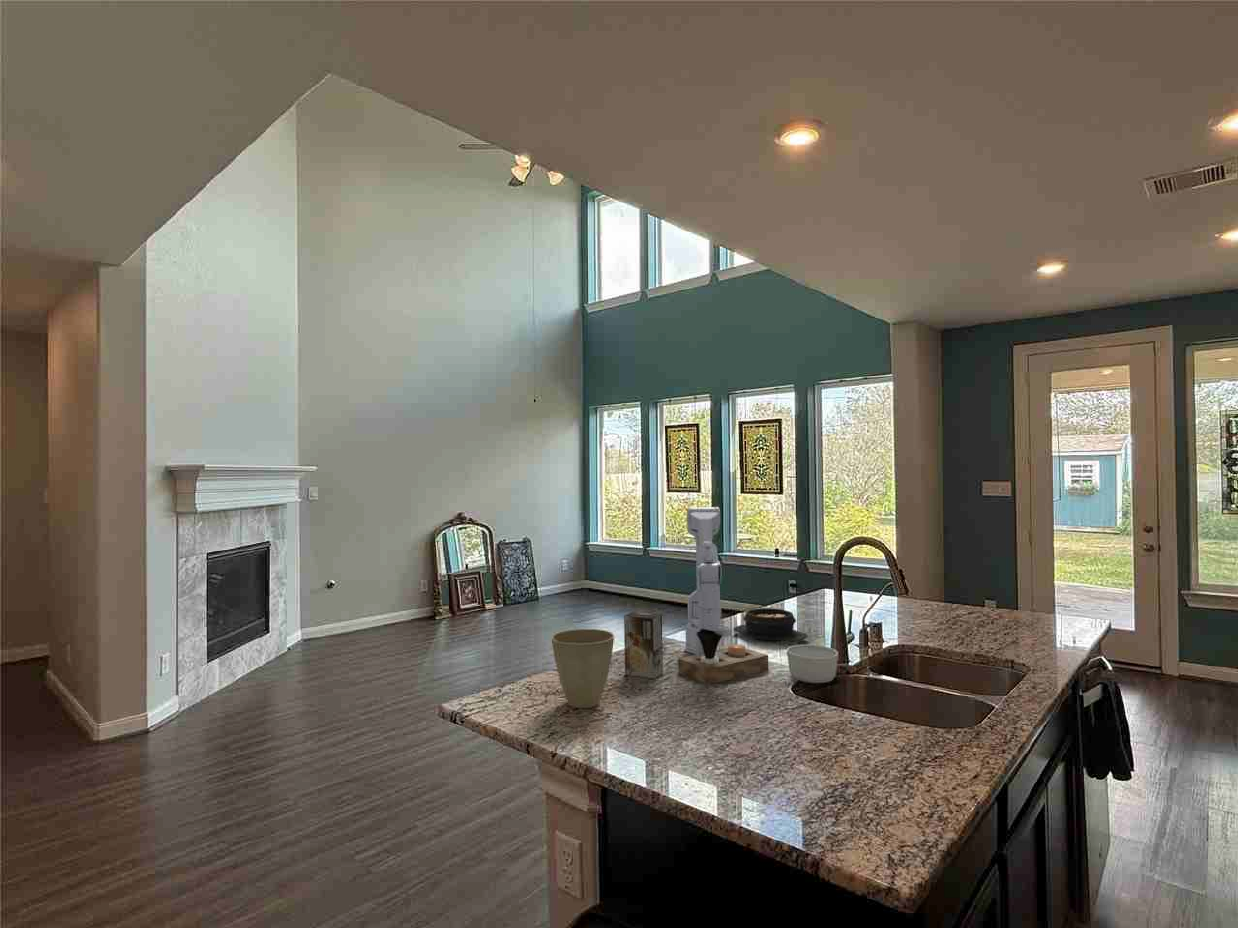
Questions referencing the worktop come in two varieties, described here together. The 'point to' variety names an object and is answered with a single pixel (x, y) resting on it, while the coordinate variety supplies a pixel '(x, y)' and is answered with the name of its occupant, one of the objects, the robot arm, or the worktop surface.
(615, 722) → the worktop surface
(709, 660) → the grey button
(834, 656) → the ramekin
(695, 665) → the button box
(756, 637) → the casserole
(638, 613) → the coffee box
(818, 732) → the worktop surface
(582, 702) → the plant pot
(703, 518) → the robot arm
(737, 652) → the terracotta button
